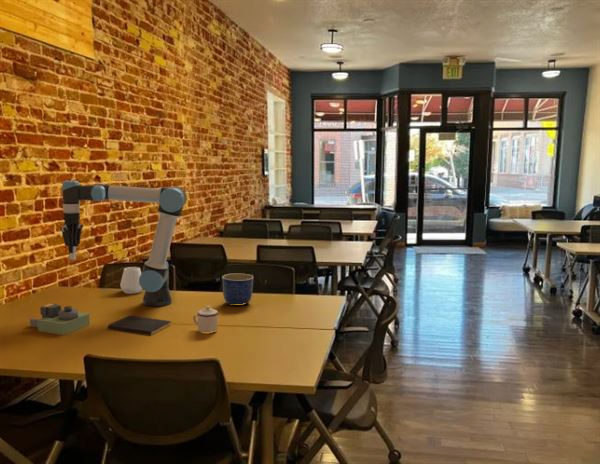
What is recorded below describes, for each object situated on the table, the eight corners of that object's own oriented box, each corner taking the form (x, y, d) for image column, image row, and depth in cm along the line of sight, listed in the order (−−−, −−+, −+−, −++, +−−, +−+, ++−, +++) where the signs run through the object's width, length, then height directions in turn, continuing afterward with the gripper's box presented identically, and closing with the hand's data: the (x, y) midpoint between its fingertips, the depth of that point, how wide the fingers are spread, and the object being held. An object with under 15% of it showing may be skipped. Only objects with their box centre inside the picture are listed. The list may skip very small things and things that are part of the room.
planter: (236, 298, 281) (237, 272, 279) (259, 303, 272) (259, 276, 270) (215, 304, 268) (215, 276, 266) (238, 310, 258) (238, 282, 256)
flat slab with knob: (89, 324, 228) (88, 303, 227) (63, 335, 213) (62, 312, 212) (51, 318, 235) (50, 298, 233) (23, 328, 220) (22, 307, 218)
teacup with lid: (221, 329, 227) (221, 305, 226) (211, 335, 219) (211, 310, 217) (198, 325, 231) (198, 301, 230) (188, 331, 223) (188, 307, 221)
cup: (115, 293, 282) (115, 270, 280) (127, 288, 295) (127, 265, 293) (137, 295, 280) (137, 271, 278) (148, 289, 293) (148, 267, 291)
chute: (62, 323, 227) (62, 304, 226) (51, 328, 221) (51, 308, 220) (52, 322, 229) (51, 302, 228) (41, 326, 223) (40, 306, 221)
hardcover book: (129, 319, 238) (129, 315, 238) (171, 325, 232) (171, 321, 231) (107, 329, 223) (107, 325, 223) (151, 336, 216) (151, 331, 216)
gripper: (74, 210, 250) (76, 256, 253) (55, 212, 237) (56, 260, 240) (87, 211, 247) (88, 257, 251) (67, 213, 235) (69, 262, 238)
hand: (72, 259), depth 245 cm, fingers closed
